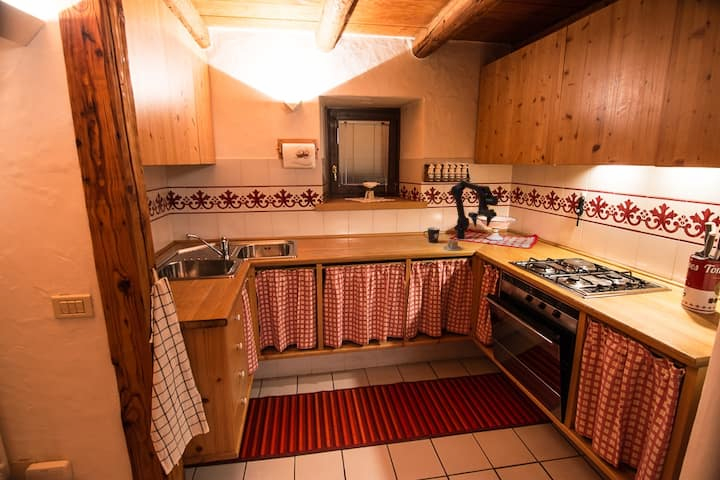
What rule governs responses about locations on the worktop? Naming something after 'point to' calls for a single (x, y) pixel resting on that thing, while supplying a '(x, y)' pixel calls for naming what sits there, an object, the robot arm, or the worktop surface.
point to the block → (453, 244)
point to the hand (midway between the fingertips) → (481, 226)
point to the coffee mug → (433, 234)
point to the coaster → (452, 249)
